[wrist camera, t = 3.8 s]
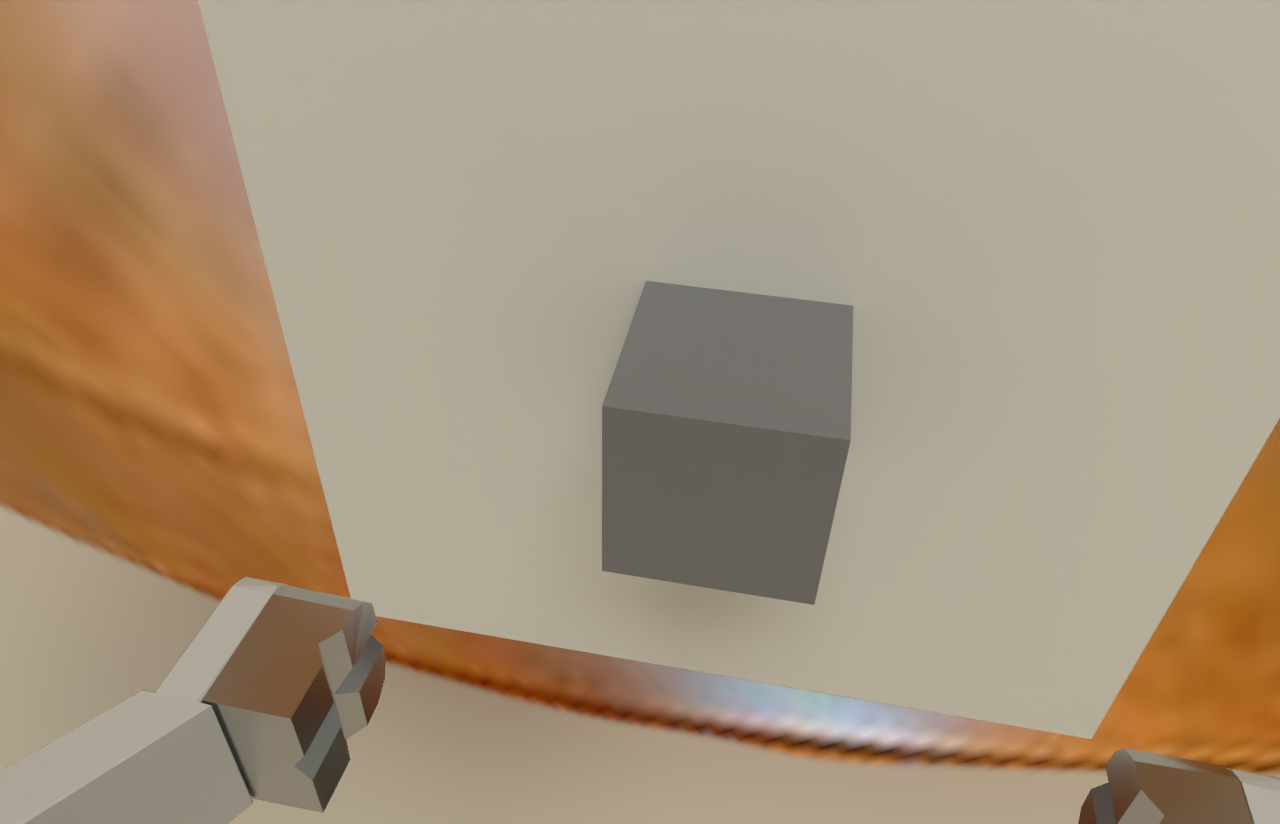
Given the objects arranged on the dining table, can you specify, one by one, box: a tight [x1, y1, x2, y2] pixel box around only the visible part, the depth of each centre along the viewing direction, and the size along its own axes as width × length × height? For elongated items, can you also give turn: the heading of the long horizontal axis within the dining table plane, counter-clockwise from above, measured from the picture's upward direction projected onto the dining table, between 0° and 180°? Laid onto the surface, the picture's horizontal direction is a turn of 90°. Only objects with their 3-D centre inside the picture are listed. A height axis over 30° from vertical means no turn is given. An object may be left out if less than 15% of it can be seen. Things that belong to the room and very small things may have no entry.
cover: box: [198, 0, 1280, 739], centre depth 16 cm, size 15×15×11 cm
